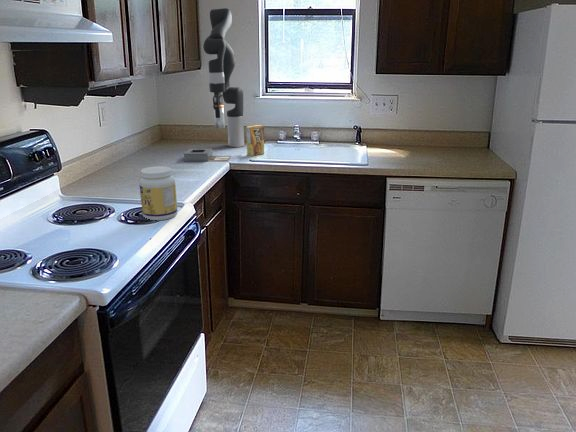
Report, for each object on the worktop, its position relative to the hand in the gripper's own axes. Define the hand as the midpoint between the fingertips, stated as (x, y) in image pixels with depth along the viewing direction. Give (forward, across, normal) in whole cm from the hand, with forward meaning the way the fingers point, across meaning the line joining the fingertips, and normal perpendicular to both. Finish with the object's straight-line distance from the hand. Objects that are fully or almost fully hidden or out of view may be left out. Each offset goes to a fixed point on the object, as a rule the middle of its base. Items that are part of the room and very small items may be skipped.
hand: (218, 116), depth 260 cm
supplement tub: (+22, +88, -6) cm, 91 cm away
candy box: (+23, -14, +16) cm, 31 cm away
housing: (+21, 0, -12) cm, 24 cm away
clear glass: (+5, 0, 0) cm, 5 cm away
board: (+22, 0, -7) cm, 23 cm away
